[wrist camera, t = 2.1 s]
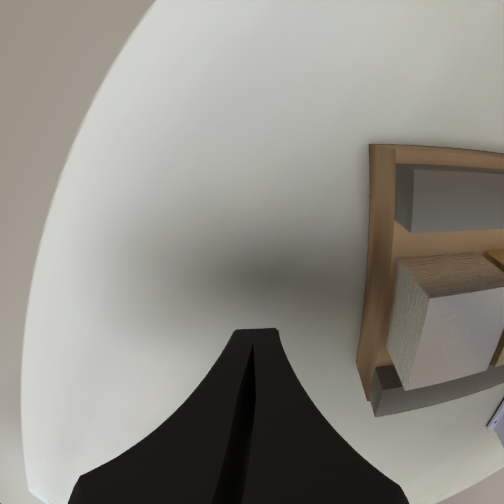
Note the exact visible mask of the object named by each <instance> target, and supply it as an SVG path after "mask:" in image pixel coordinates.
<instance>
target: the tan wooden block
mask: <svg viewBox="0 0 504 504" xmlns="http://www.w3.org/2000/svg"><path fill="white" fill-rule="evenodd" d="M484 257H485V258H486V259H487V260H488V261H490V262H491V263H492V264H493V265H495V266H496V267H497V268H498V269H500V270H501V271H502V272H503V273H504V249H499V250H488V251H485V252H484ZM490 362H491V363H492V364H493V366H494V367H498V366H501V365H504V329H503V331H502V334H501V337H500V339H499V342H498V344H497V347H496V349H495V352H494V354H493V357H492V359H491V361H490Z"/></svg>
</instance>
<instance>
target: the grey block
mask: <svg viewBox="0 0 504 504" xmlns="http://www.w3.org/2000/svg"><path fill="white" fill-rule="evenodd" d="M503 329H504V273H503V272H502V271H501V270H500V269H498V268H497V267H496V266H495V265H493V264H492V263H491V262H490V261H488V260H487V259H486V258H485V257H483V256H482V255H481V254H479V253H478V252H477V251H476V252H465V253H453V254H441V255H428V256H415V257H402V258H396V265H395V274H394V282H393V290H392V297H391V304H390V311H389V317H388V323H387V329H386V334H385V340H384V343H385V346H386V348H387V350H388V352H389V355H390V357H391V359H392V361H393V364H394V366H395V368H396V371H397V373H398V375H399V378H400V380H401V383H402V385H403V387H404V390H405V391H407V390H412V389H417V388H421V387H426V386H430V385H435V384H439V383H443V382H447V381H451V380H455V379H458V378H462V377H465V376H469V375H472V374H476V373H479V372H482V371H486V370H487V368H488V366H489V363H490V361H491V359H492V357H493V354H494V352H495V349H496V347H497V344H498V342H499V339H500V337H501V334H502V331H503Z"/></svg>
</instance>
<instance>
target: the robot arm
mask: <svg viewBox="0 0 504 504" xmlns="http://www.w3.org/2000/svg"><path fill="white" fill-rule="evenodd" d="M492 429H494V430H495V432H496V434H497V436H498V438H499V440H500V442H501V444H502V446H503V448H504V400H503V402H502V404H501V405H500V407H499V409H498V410H497V412H496V414H495V415H494V417H493V418H492V420H491V421H490V423H489V424H488V426H487V430H488V431H489V430H492ZM0 504H1V503H0ZM68 504H409V502H408V499H407V497H406V496H405V494H404V492H403V490H402V488H401V487H400V486H399V485H398V484H396V483H395V482H394V481H392V480H391V479H389V478H388V477H387V476H385V475H384V474H383V473H381V472H380V471H379V470H377V469H376V468H375V467H374V466H372V465H371V464H370V463H369V462H368V461H367V460H365V459H364V458H363V457H362V456H361V455H360V454H358V453H357V452H356V451H355V450H354V449H353V448H352V447H351V446H350V445H349V444H348V443H347V442H346V441H345V440H344V439H343V438H342V437H341V436H340V435H339V434H338V433H337V432H336V430H335V429H334V428H333V427H332V426H331V425H330V424H329V422H328V421H327V420H326V419H325V418H324V416H323V415H322V414H321V412H320V411H319V410H318V409H317V407H316V406H315V405H314V403H313V402H312V400H311V399H310V397H309V396H308V394H307V393H306V391H305V390H304V388H303V387H302V385H301V383H300V382H299V380H298V378H297V376H296V375H295V373H294V371H293V369H292V367H291V365H290V363H289V361H288V359H287V357H286V354H285V352H284V349H283V347H282V344H281V341H280V337H279V331H278V330H277V329H276V328H264V329H240V330H235V331H234V332H233V334H232V336H231V338H230V340H229V341H228V343H227V345H226V347H225V348H224V350H223V352H222V353H221V355H220V356H219V358H218V359H217V361H216V362H215V364H214V365H213V367H212V368H211V370H210V371H209V372H208V374H207V375H206V377H205V378H204V379H203V380H202V382H201V383H200V384H199V385H198V387H197V388H196V389H195V390H194V392H193V393H192V394H191V395H190V396H189V397H188V399H187V400H186V401H185V402H184V403H183V404H182V405H181V406H180V407H179V408H178V409H177V410H176V411H175V412H174V413H173V414H172V415H171V416H170V417H169V418H168V419H167V420H166V421H164V422H163V423H162V424H161V425H160V426H159V427H158V428H157V429H155V430H154V431H153V432H152V433H150V434H149V435H148V436H147V437H145V438H144V439H143V440H141V441H140V442H138V443H137V444H136V445H134V446H133V447H131V448H130V449H128V450H127V451H125V452H124V453H122V454H121V455H119V456H118V457H116V458H114V459H113V460H111V461H109V462H107V463H105V464H103V465H101V466H99V467H97V468H95V469H94V470H92V471H90V472H88V473H85V474H83V475H81V476H80V477H79V479H78V481H77V483H76V484H75V486H74V488H73V491H72V494H71V496H70V499H69V501H68Z"/></svg>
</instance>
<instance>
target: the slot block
mask: <svg viewBox="0 0 504 504" xmlns="http://www.w3.org/2000/svg"><path fill="white" fill-rule="evenodd" d="M369 157H370V216H369V243H368V260H367V275H366V287H365V298H364V308H363V317H362V325H361V333H360V341H359V348H358V355H357V362H356V365H357V368H358V372H359V375H360V378H361V382H362V385H363V388H364V392H365V395H366V399H367V401H371V405H372V408H373V412H374V415H375V417H380V416H385V415H391V414H396V413H401V412H406V411H410V410H415V409H419V408H423V407H427V406H431V405H435V404H439V403H443V402H447V401H450V400H454V399H457V398H460V397H464V396H467V395H470V394H473V393H476V392H479V391H482V390H485V389H488V388H491V387H494V386H496V385H499V384H502V383H504V365H501V366H498V367H494V366H493V364H492V363H491V362H490V363H489V366H488V368H487V370H486V371H482V372H479V373H476V374H472V375H469V376H465V377H462V378H458V379H455V380H451V381H447V382H443V383H439V384H435V385H430V386H426V387H421V388H417V389H412V390H407V391H405V390H404V387H403V385H402V383H401V380H400V378H399V375H398V373H397V371H396V368H395V366H394V364H393V361H392V359H391V357H390V355H389V352H388V350H387V348H386V346H385V343H384V340H385V334H386V329H387V323H388V317H389V311H390V304H391V297H392V290H393V282H394V274H395V265H396V258H402V257H415V256H428V255H441V254H453V253H465V252H476V251H477V252H478V253H479V254H481V255H482V256H483V257H484V252H485V251H488V250H499V249H504V154H502V153H494V152H487V151H478V150H469V149H459V148H447V147H434V146H418V145H395V144H369Z"/></svg>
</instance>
